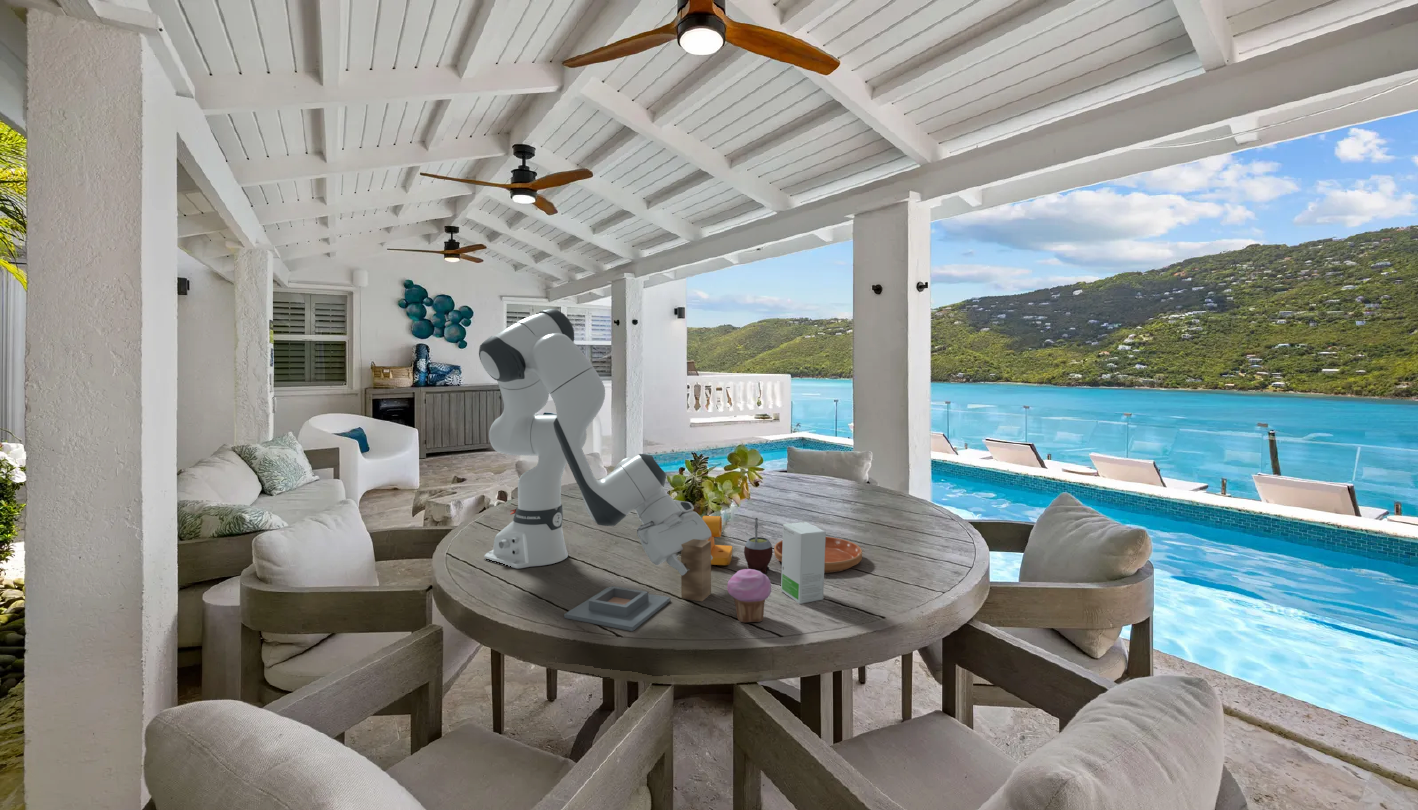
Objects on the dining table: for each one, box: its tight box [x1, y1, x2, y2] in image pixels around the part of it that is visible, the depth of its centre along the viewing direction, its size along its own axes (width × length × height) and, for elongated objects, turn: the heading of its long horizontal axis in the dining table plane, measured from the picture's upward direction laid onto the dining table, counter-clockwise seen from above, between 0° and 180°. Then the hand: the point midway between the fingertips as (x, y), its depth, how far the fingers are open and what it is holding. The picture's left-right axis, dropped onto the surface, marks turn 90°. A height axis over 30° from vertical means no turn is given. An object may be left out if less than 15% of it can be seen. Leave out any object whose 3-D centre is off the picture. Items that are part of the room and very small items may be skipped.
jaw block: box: [680, 539, 712, 602], centre depth 128 cm, size 5×5×12 cm
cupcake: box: [726, 568, 772, 623], centre depth 115 cm, size 9×9×10 cm
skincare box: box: [780, 521, 827, 605], centre depth 127 cm, size 8×7×16 cm
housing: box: [564, 585, 671, 632], centre depth 121 cm, size 16×16×3 cm
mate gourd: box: [743, 517, 774, 576], centre depth 143 cm, size 8×8×15 cm
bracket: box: [701, 515, 733, 566], centre depth 152 cm, size 11×7×12 cm, turn 171°
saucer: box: [773, 536, 863, 574], centre depth 152 cm, size 23×23×4 cm
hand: (698, 566), depth 127 cm, fingers open, 8 cm apart
